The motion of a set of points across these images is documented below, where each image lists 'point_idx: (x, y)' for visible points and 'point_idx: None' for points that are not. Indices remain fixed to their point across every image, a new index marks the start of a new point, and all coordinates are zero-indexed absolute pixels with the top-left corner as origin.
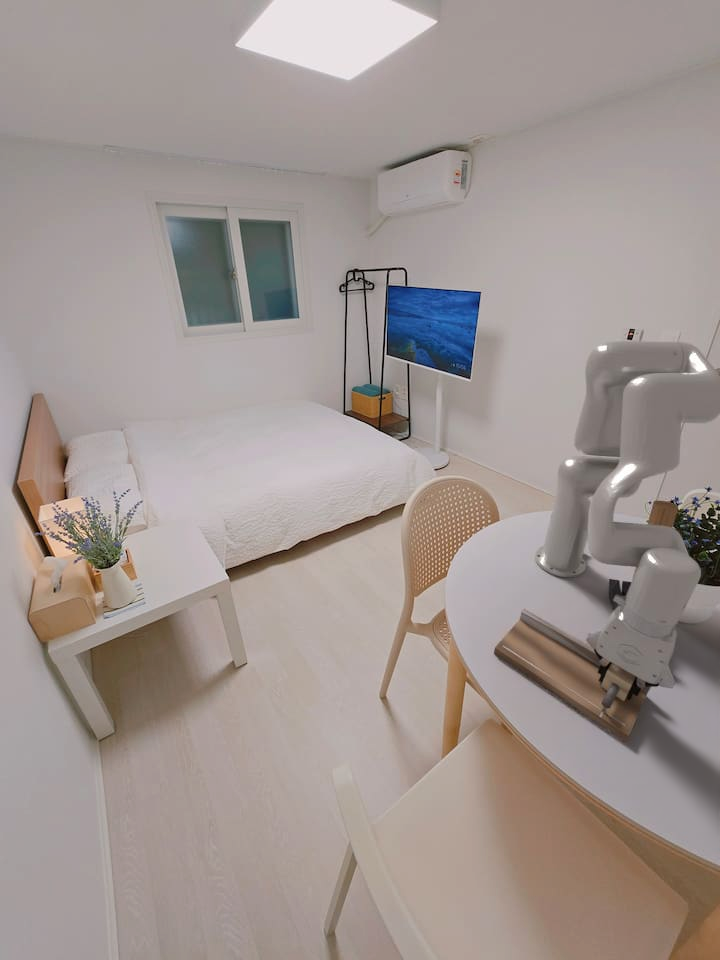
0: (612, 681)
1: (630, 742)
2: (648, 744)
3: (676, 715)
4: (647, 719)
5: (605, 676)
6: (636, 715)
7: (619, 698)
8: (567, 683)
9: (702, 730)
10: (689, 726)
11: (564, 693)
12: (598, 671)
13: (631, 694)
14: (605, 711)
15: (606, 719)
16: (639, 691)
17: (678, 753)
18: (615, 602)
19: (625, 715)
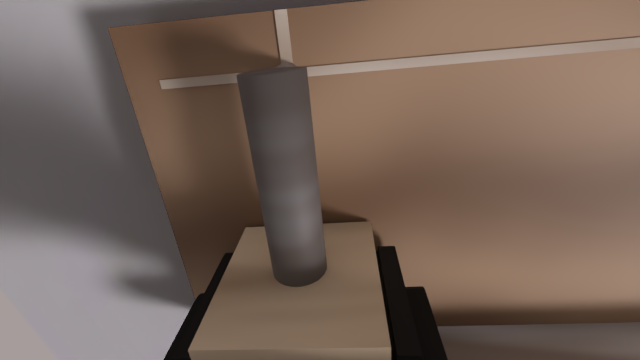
0: (324, 289)
1: None
2: (89, 111)
3: (122, 313)
4: (165, 226)
5: (378, 293)
6: (165, 195)
7: None
8: (547, 87)
9: (47, 316)
10: (74, 303)
11: None
12: (424, 297)
13: (214, 283)
14: None
15: (246, 27)
16: (179, 331)
17: (12, 170)
18: None
19: (197, 152)
